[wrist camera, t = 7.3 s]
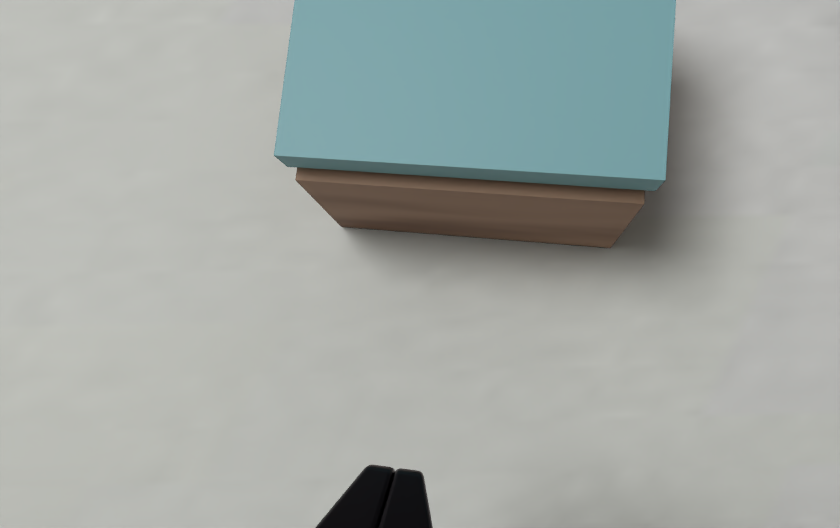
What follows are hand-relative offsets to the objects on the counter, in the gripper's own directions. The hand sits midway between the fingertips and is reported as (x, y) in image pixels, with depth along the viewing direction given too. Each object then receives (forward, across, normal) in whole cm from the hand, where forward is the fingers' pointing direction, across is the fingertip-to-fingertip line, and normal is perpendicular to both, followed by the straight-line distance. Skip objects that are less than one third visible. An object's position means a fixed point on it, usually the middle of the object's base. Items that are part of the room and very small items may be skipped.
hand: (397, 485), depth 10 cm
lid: (+11, 0, -4) cm, 12 cm away
